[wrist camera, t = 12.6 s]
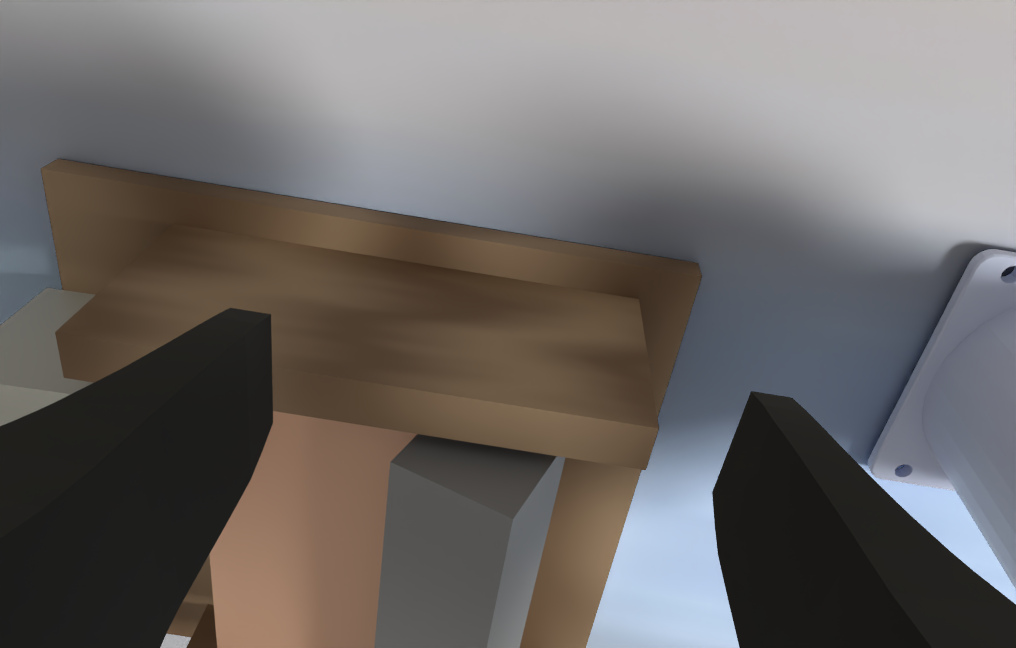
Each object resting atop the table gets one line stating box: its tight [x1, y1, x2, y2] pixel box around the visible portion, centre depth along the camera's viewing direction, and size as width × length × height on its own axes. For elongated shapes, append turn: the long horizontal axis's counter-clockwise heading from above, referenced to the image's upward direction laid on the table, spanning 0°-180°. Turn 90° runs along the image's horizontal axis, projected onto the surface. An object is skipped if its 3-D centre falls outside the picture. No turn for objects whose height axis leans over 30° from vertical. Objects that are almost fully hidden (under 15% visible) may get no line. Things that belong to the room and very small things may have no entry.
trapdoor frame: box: [41, 159, 702, 648], centre depth 24 cm, size 18×19×6 cm
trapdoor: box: [209, 411, 565, 648], centre depth 22 cm, size 10×14×3 cm
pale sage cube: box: [0, 288, 95, 426], centre depth 22 cm, size 4×4×5 cm
